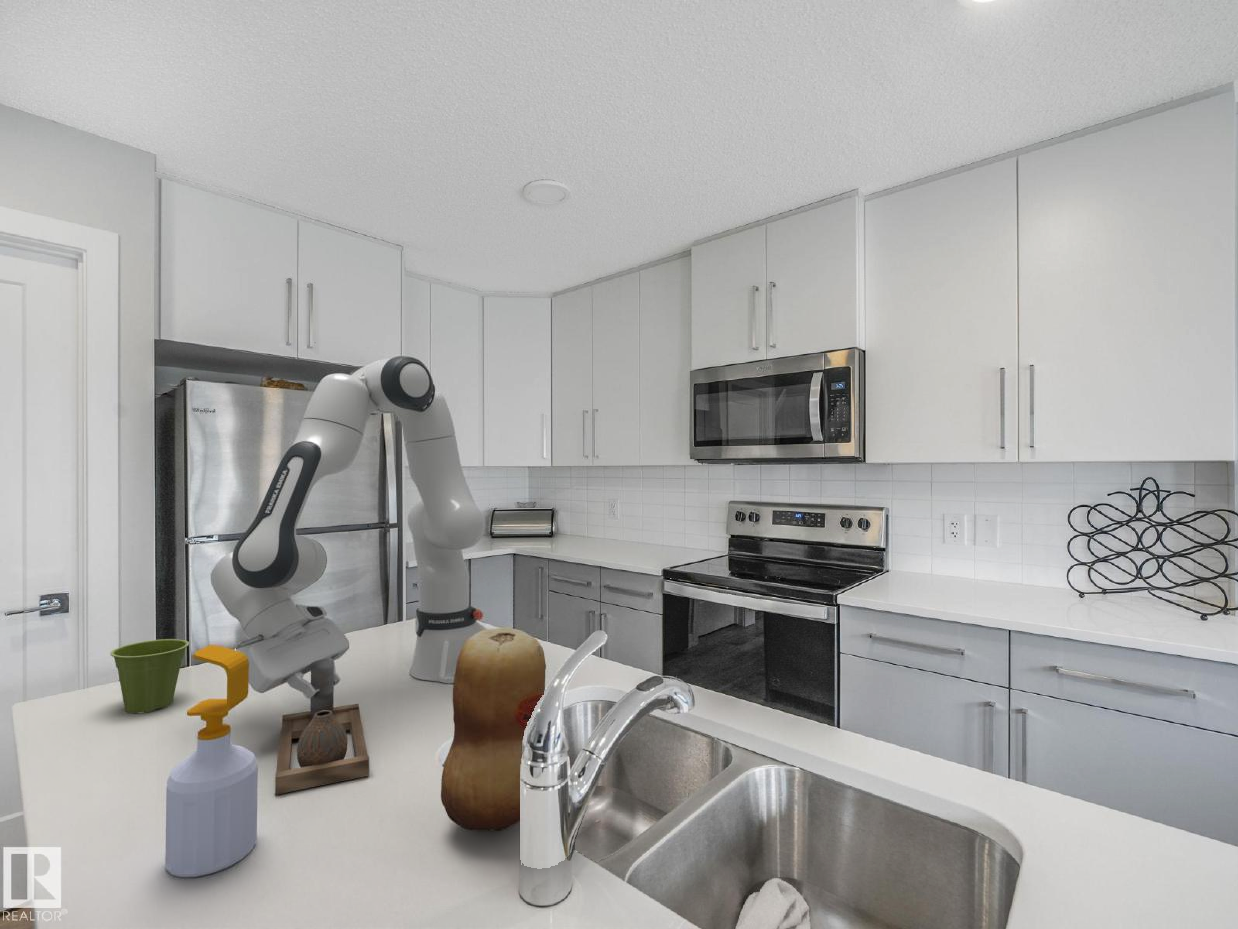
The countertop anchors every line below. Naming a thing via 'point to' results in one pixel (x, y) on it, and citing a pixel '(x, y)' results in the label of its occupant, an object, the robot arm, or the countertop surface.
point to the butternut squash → (491, 727)
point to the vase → (322, 740)
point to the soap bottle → (213, 784)
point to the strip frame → (296, 725)
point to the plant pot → (149, 673)
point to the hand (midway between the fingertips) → (325, 689)
